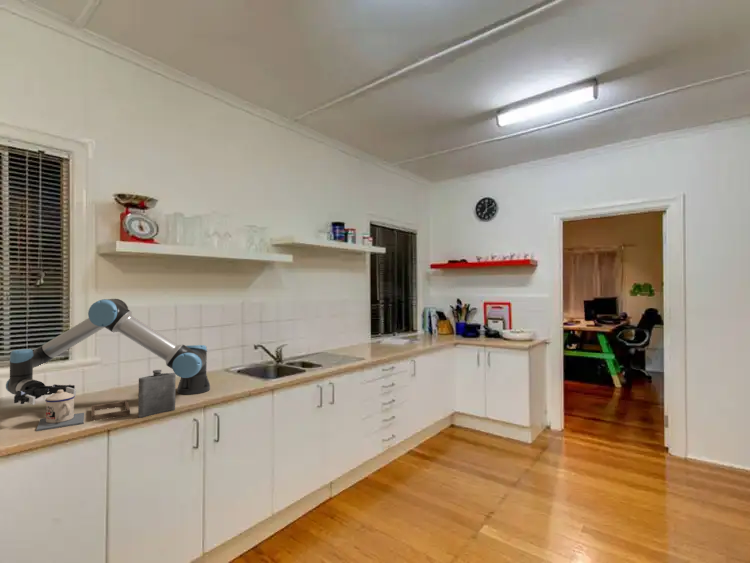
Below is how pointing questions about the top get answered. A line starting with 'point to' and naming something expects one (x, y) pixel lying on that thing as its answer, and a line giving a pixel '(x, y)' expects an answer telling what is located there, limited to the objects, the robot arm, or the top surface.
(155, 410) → the flask
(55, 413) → the teacup with lid
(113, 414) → the brown wooden tray
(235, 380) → the top surface
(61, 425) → the slate mat
